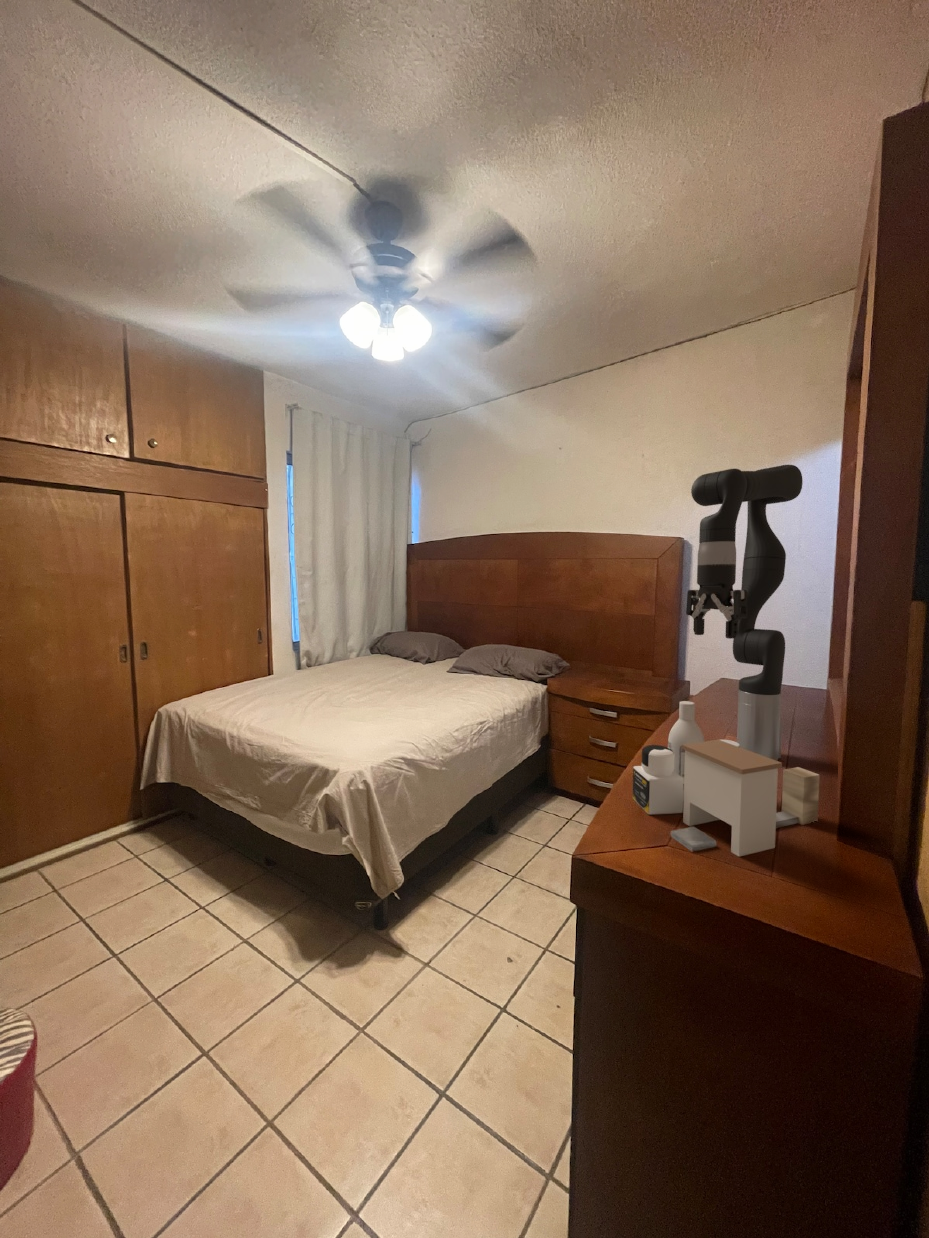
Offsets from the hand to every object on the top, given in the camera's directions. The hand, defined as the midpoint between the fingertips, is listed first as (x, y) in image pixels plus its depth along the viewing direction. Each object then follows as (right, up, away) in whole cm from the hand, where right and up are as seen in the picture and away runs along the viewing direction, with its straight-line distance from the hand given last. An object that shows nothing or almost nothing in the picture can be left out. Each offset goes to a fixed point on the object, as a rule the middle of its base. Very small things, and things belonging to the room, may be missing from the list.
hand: (714, 636), depth 104 cm
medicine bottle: (-17, -34, -10) cm, 39 cm away
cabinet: (-9, -35, -21) cm, 41 cm away
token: (-16, -35, -23) cm, 45 cm away
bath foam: (-9, -34, -5) cm, 35 cm away
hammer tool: (+2, -34, -17) cm, 38 cm away
